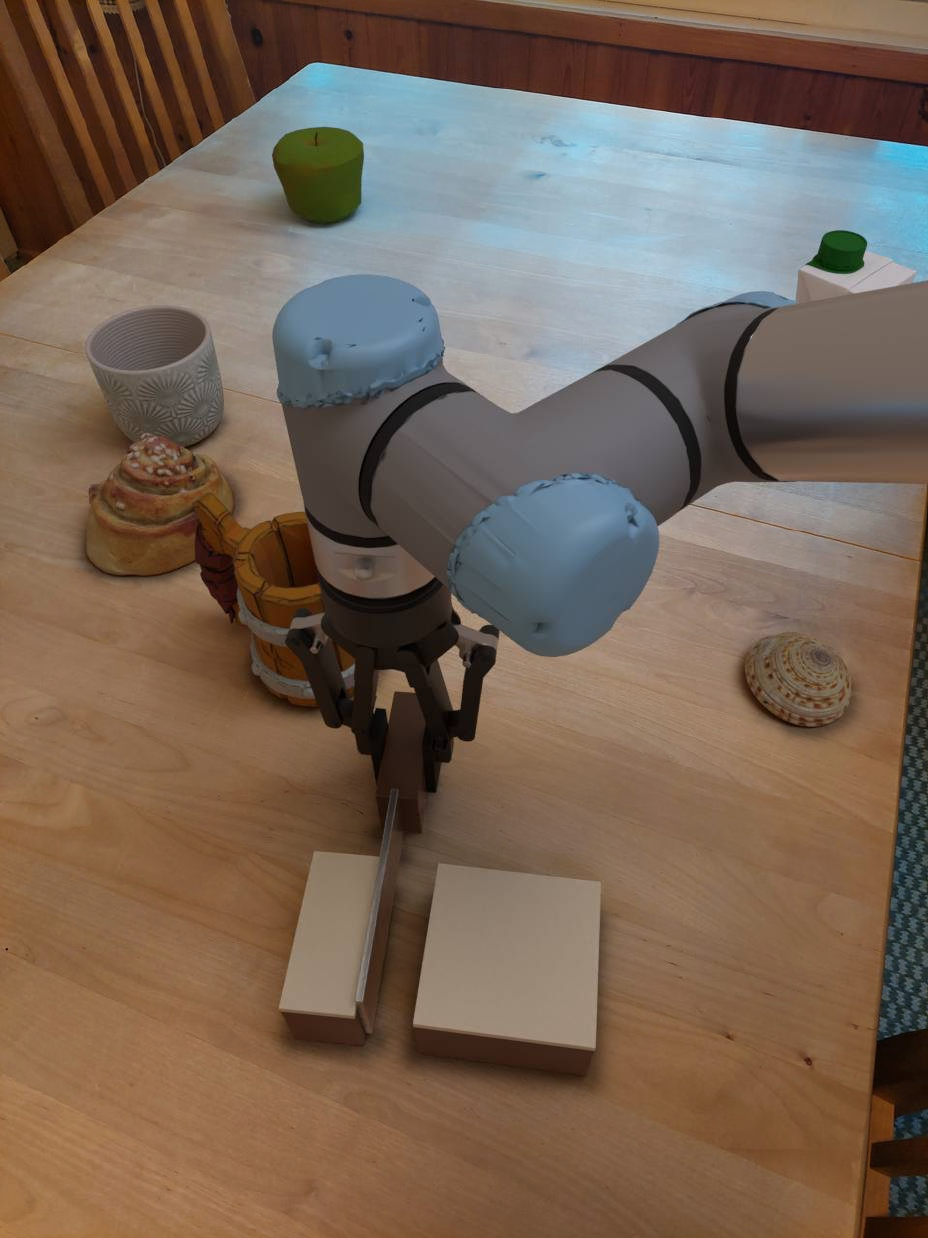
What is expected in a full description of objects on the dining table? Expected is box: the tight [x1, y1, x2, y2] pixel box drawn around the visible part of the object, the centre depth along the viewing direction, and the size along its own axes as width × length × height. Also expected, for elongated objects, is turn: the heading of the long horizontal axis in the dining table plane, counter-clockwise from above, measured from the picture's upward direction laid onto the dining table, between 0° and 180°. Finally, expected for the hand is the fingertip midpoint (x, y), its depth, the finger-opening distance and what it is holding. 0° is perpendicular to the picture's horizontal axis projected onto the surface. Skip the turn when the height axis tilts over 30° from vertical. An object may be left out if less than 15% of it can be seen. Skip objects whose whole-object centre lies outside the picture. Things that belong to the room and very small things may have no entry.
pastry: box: [86, 433, 236, 577], centre depth 85 cm, size 13×15×8 cm
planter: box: [84, 304, 225, 448], centre depth 94 cm, size 12×12×11 cm
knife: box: [354, 690, 428, 1034], centre depth 62 cm, size 23×3×6 cm, turn 174°
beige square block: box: [412, 862, 602, 1077], centre depth 57 cm, size 10×10×6 cm
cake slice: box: [278, 850, 380, 1047], centre depth 58 cm, size 10×4×6 cm, turn 174°
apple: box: [271, 126, 365, 224], centre depth 127 cm, size 12×12×11 cm
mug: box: [192, 492, 355, 708], centre depth 72 cm, size 11×16×15 cm, turn 61°
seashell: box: [744, 631, 853, 728], centre depth 74 cm, size 8×6×8 cm
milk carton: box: [794, 229, 918, 303], centre depth 89 cm, size 9×9×20 cm
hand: (409, 774), depth 68 cm, fingers closed on knife, 3 cm apart
